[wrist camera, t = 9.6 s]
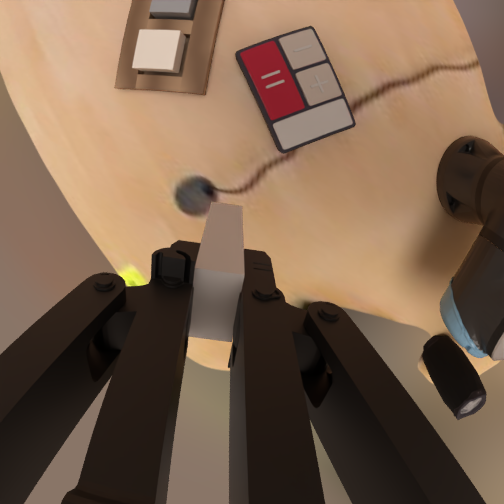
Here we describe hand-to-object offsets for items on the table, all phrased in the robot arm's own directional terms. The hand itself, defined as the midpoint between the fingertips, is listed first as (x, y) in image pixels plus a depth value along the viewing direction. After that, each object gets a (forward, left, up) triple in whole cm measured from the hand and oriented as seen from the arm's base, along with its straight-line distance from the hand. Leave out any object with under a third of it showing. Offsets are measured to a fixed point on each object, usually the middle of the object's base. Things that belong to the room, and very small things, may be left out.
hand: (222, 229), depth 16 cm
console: (+11, -20, -29) cm, 37 cm away
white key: (+11, -12, -26) cm, 31 cm away
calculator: (-7, -10, -30) cm, 32 cm away
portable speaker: (-51, +32, -30) cm, 67 cm away
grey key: (+11, -20, -28) cm, 36 cm away
